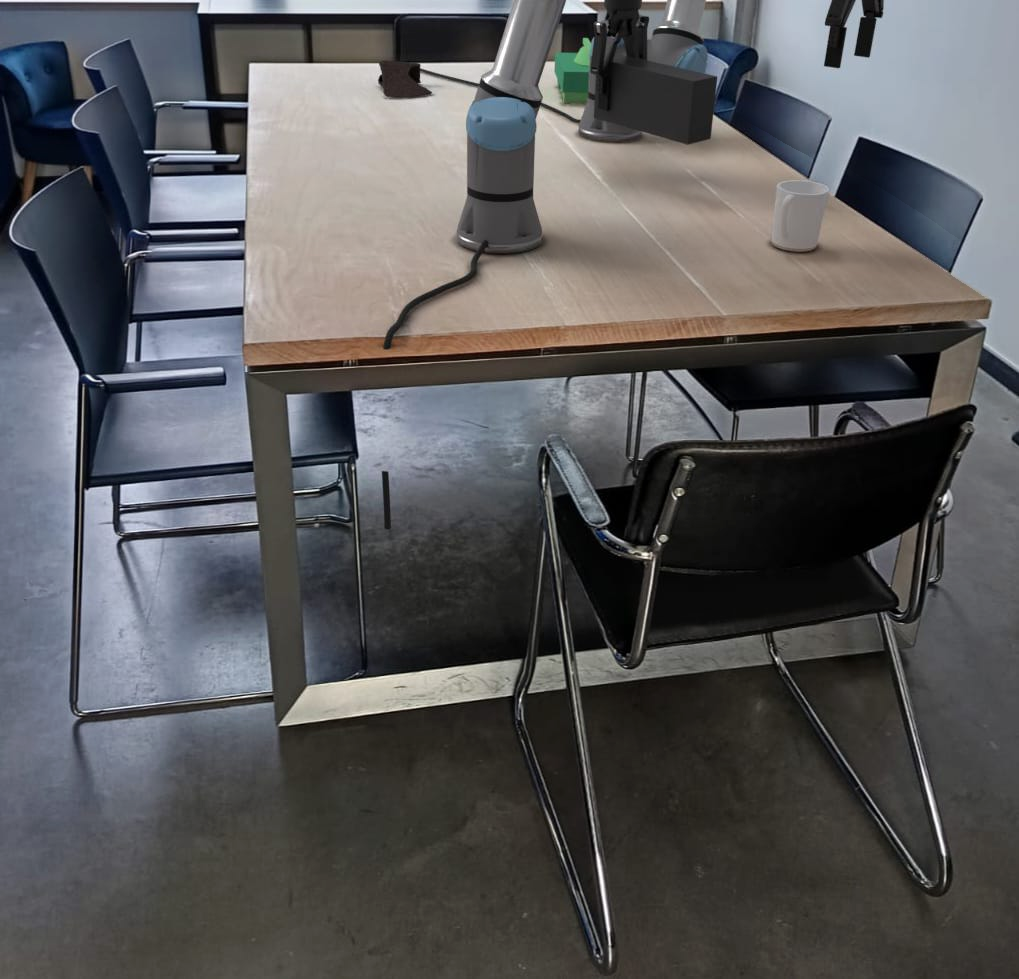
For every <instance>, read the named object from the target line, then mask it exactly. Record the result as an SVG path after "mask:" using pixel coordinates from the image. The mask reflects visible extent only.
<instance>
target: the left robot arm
mask: <svg viewBox="0 0 1019 979" xmlns="http://www.w3.org/2000/svg"><path fill="white" fill-rule="evenodd" d="M856 1H857V0H831V2H830V5H829V8H828V9H827V10H828V11H827V13H826V17H825V21H824V26H825V27H829V31H828V38H827V43H826V50H825V56H824V62H823V67H826V68H833V69H840V68H841V66H842V60H843V54H844V48H845V43H846V36H847V31H848V27H847V26H846V24H847V22H848V20H849V18H850V14H851V13H852V10H853V8H854V6H855V3H856ZM566 2H567V0H513V2H512V5H511V7H510V11H509V15H508V17H507V21H506V24H505V28H504V31H503V34H502V37H501V40H500V44H499V47H498V50H497V53H496V57H495V59H494V63H493V66H492V68H491V69H490V70H488V71H486V72H485V73H483V74H481V76H480V78H479V79H480V80H479V82H478V84H479V86H477V89H476V93H475V96H474V99H473V100H472V103H471V105H470V106H469V107H468V110H467V113H466V114H467V115H466V120H465V121H466V122H465V130H466V192H467V193H466V198H465V202H464V205H463V209H462V211H461V214H460V218H459V220H458V224H457V228H456V241H457V243H458V244H459V245H461V246H462V247H464V248H466V249H468V250H470V251H475V253H474V254H473V257H472V258H471V260H470V271H469V272H468V273H467V274H466V275H464V276H462V277H460V278H458V279H455V280H452V281H450V282H447V283H445V284H443V285H440V286H437V287H436V288H434V289H432V290H429V291H426V292H425V293H423V294H421V295H419V296H417V297H415V298H414V299H412V300H411V301H409V302H408V303H407V304H406V305H405V306H404V307H403V309H402V310H401V312H400V313H399V316H398V318H397V319H396V321H395V323H394V324H392V325H391V326H390V327H389V329H388V330H387V331H386V334H385V338H384V341H383V345H382V346H383V347H382V349H383V350H385V351H386V350H390V349H391V346H392V342H393V339H394V335H395V333H396V332H398V331H399V330H400V328H401V327H402V326H403V324H404V322H405V320H406V318H407V316H408V315H409V313H410V311H412V310H413V309H414V308H415V307H416V306H418V305H420V304H421V303H423V302H425V301H427V300H429V299H431V298H434V297H436V296H438V295H440V294H442V293H445V292H446V291H450V290H451V289H454V288H456V287H457V288H458V287H460V286H461V285H465V284H466V283H468V282H470V281H471V280H472V279H473V278H474V277H475V276H476V275H477V273H478V272H477V271H478V269H477V268H478V266H477V265H478V261H479V260H480V257H481V256H482V255H483V253H486V254H497V255H499V254H500V255H506V254H507V255H508V254H517V253H524V252H527V251H530V250H533V249H536V248H538V247H539V246H540V245H541V244H542V243H543V229H542V224H541V221H540V220H541V219H540V218H539V214H538V213H539V212H538V210H537V206H536V204H535V199H534V183H535V181H534V180H535V148H536V147H535V146H536V133H537V128H538V127H537V121H536V120H537V117H538V114H539V111H540V109H541V108H540V107H541V106H540V105H541V102H542V103H543V99H544V96H543V94H542V91H541V90H540V87H539V84H540V81H541V78H542V74H543V72H544V68H545V66H546V63H547V59H548V57H549V54H550V51H551V47H552V45H553V41H554V38H555V36H556V33H557V30H558V26H559V24H560V20H561V17H562V14H563V11H564V8H565V6H566ZM884 3H885V0H861V6H862V14H863V16H861V17H860V19H859V24H858V30H857V36H856V42H855V48H854V52H853V53H854V54H853V56H854V57H861V58H866V59H867V58H868V59H869V58H870V57H871V53H872V47H873V43H874V42H873V41H874V37H875V31H876V25H877V20H878V19H882V18H883V16H884V8H885V6H884V5H885V4H884ZM845 26H846V27H845ZM381 483H382V500H383V502H382V503H383V518H384V519H383V523H384V526H383V527H384V530H386V531H387V530H391V529H392V520H391V518H392V516H391V493H390V476H389V471H388V470H381Z"/></svg>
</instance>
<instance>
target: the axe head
mask: <svg viewBox="0 0 1019 979" xmlns="http://www.w3.org/2000/svg"><path fill="white" fill-rule="evenodd" d="M378 66H379V68H380V72H381V74H379V75H378V79H377V84H378V85H379V86H380V87H381V88H382V89H383V95H384V96H385V97H388V98H394V99H395V98H396V99H403V98H405V99H406V98H407V99H411V98H418V97H425V96H429V95H432V94H433V91H431V90H430V89H428V88H427V87H425V86H422V85H421V84H422V82H421V71H420V68H421V63H419V62H410V61H408V62H407V61H397V60H388V59H387V60H380V61H379V62H378Z"/></svg>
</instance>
